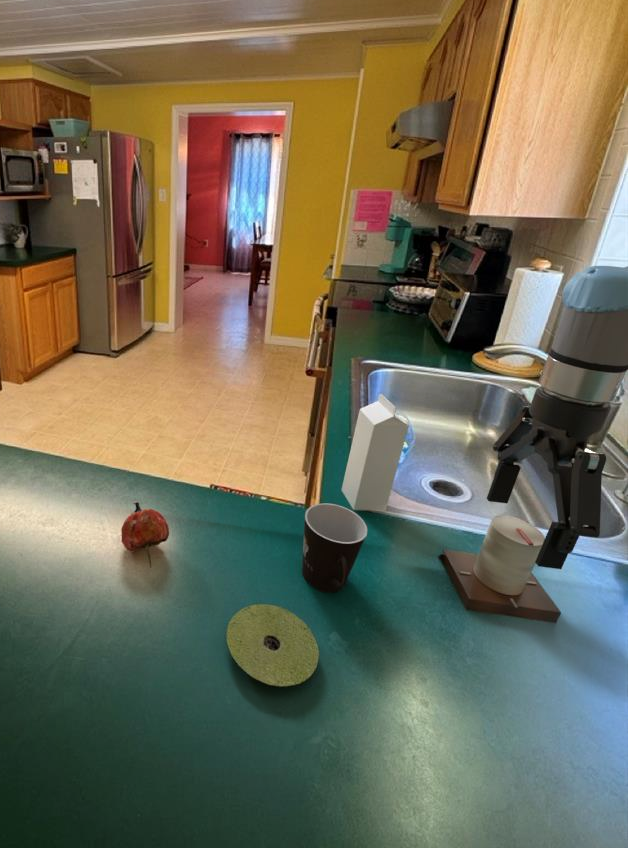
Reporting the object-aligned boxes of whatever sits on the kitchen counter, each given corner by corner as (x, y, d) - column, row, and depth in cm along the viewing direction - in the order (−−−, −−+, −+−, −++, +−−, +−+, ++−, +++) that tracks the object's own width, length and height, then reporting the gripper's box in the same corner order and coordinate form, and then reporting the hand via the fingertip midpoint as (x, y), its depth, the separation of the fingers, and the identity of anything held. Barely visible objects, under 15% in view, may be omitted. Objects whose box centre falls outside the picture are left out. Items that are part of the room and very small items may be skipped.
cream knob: (465, 559, 73) (483, 511, 70) (508, 564, 73) (529, 516, 69) (486, 592, 67) (507, 541, 64) (533, 598, 67) (556, 546, 63)
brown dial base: (517, 568, 75) (522, 557, 74) (557, 625, 65) (563, 613, 64) (438, 557, 76) (442, 546, 75) (466, 611, 67) (470, 599, 66)
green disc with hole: (214, 619, 63) (216, 608, 62) (293, 609, 65) (295, 598, 64) (241, 704, 53) (243, 692, 52) (332, 689, 55) (336, 677, 54)
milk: (369, 498, 90) (396, 393, 82) (384, 518, 85) (414, 408, 76) (338, 497, 90) (363, 392, 82) (351, 518, 84) (378, 407, 76)
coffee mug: (303, 547, 77) (314, 496, 73) (358, 569, 73) (372, 517, 69) (280, 595, 67) (290, 540, 63) (341, 624, 63) (356, 566, 60)
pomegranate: (172, 567, 74) (163, 504, 79) (175, 560, 67) (164, 491, 72) (125, 575, 73) (118, 510, 78) (123, 568, 66) (116, 499, 71)
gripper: (694, 447, 47) (611, 606, 55) (548, 362, 70) (504, 482, 78) (611, 439, 48) (541, 596, 56) (494, 358, 71) (456, 477, 79)
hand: (519, 530), depth 67 cm, fingers open, 13 cm apart
